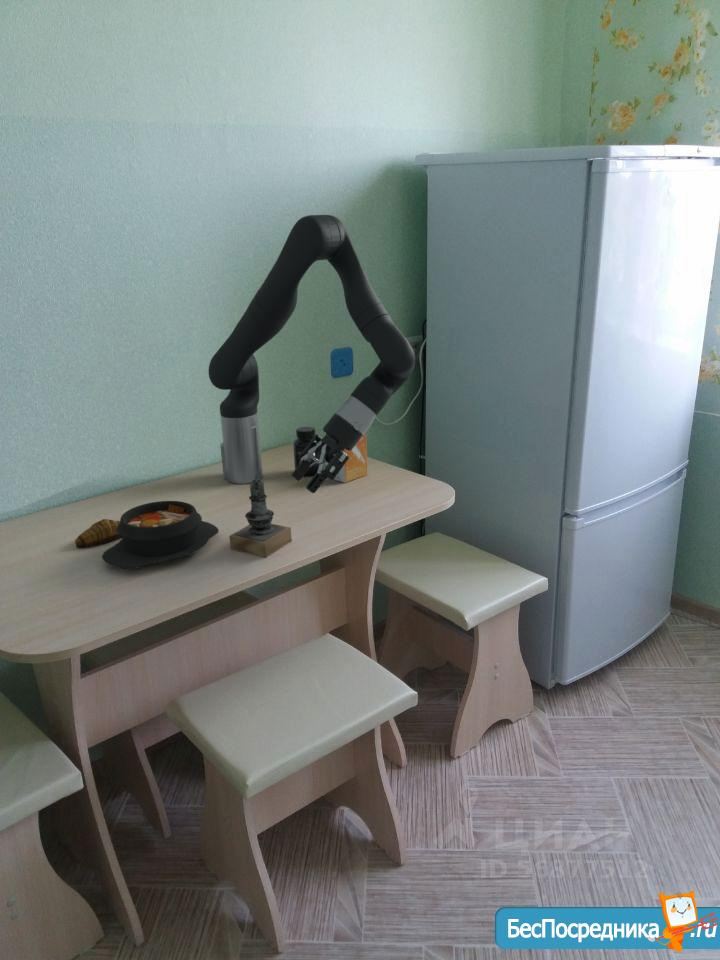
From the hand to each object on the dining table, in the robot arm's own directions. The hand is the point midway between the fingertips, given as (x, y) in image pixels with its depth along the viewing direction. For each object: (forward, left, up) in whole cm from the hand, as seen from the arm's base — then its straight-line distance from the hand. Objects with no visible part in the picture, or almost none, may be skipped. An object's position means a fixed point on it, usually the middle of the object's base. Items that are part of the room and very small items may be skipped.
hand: (302, 484), depth 163 cm
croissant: (-38, -20, -12) cm, 45 cm away
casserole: (-23, -19, -12) cm, 32 cm away
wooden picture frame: (-6, -8, -12) cm, 15 cm away
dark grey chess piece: (-6, -8, -9) cm, 13 cm away
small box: (-11, +36, -12) cm, 39 cm away
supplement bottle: (-22, +34, -12) cm, 42 cm away
